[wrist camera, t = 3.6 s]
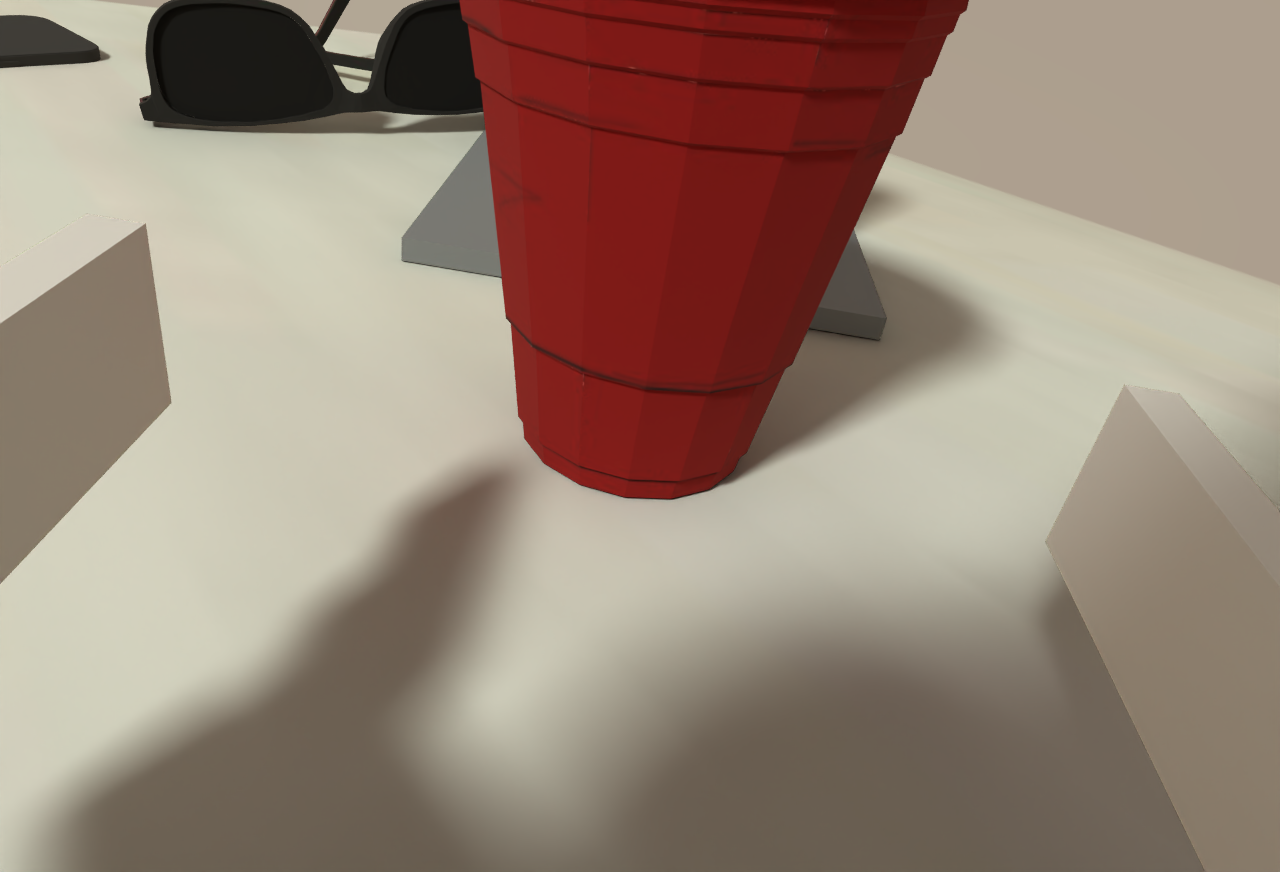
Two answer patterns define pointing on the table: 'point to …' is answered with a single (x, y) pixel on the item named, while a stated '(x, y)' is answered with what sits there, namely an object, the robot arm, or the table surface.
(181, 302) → the table surface
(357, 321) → the table surface
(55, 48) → the phone
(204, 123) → the sunglasses
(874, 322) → the mat
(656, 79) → the plastic cup
